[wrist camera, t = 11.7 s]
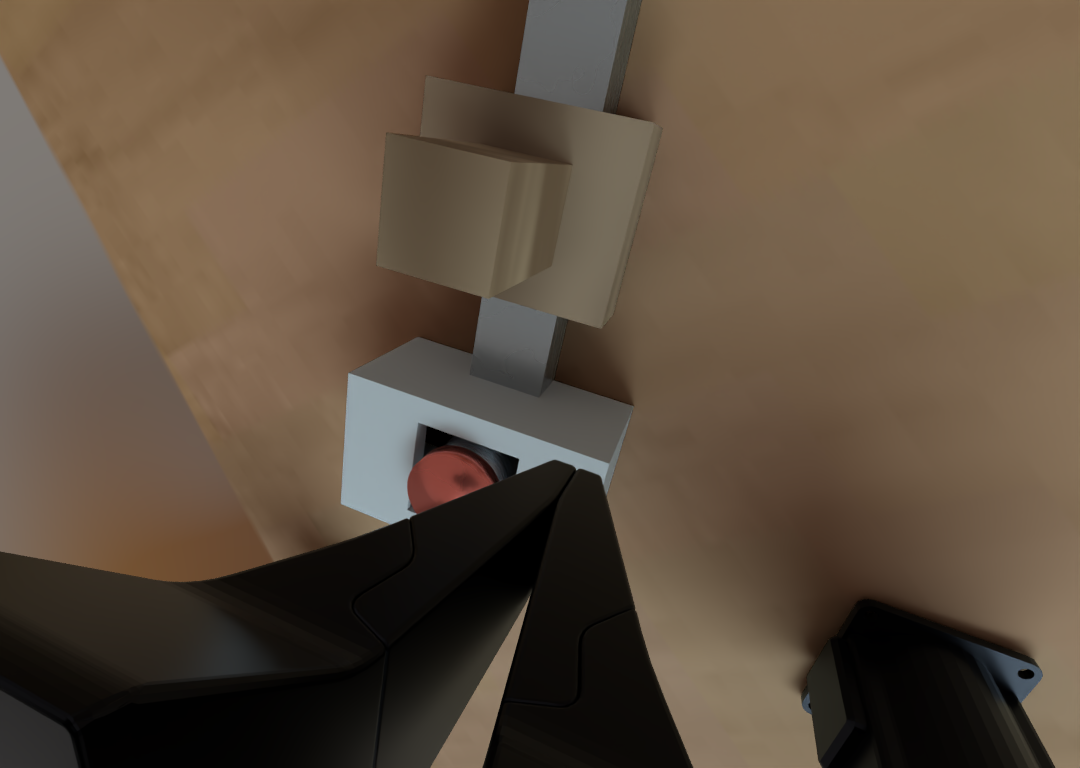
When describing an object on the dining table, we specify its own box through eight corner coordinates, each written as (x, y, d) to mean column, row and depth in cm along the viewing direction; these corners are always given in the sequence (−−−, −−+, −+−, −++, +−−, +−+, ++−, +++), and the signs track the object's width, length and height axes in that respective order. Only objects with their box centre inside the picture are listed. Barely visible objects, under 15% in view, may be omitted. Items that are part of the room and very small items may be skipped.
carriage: (669, 132, 18) (621, 101, 10) (623, 302, 21) (555, 382, 13) (479, 92, 20) (311, 39, 12) (457, 256, 22) (305, 301, 14)
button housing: (633, 406, 22) (609, 463, 18) (598, 521, 25) (569, 597, 20) (417, 336, 25) (348, 373, 20) (405, 449, 27) (340, 503, 23)
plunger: (545, 416, 23) (501, 475, 18) (530, 483, 24) (485, 552, 20) (472, 391, 24) (411, 442, 19) (461, 457, 25) (403, 519, 21)
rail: (730, -384, 14) (730, -464, 12) (553, 380, 23) (538, 397, 21) (618, -385, 15) (603, -461, 13) (489, 359, 24) (469, 374, 22)
